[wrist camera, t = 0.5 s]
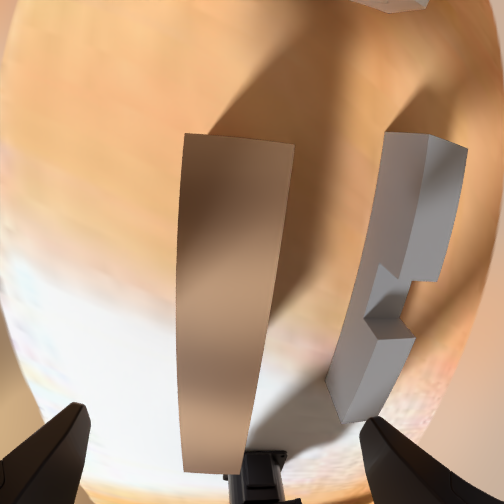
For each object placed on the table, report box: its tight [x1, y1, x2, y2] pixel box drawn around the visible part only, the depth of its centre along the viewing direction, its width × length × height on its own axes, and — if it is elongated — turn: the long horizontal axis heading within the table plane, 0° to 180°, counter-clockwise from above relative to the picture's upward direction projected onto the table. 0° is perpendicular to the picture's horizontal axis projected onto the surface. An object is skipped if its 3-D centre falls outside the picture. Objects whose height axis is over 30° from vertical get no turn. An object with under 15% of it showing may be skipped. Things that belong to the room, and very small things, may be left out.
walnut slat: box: [176, 133, 295, 475], centre depth 15 cm, size 16×3×10 cm, turn 173°
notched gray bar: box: [325, 132, 468, 424], centre depth 19 cm, size 20×3×5 cm, turn 173°
